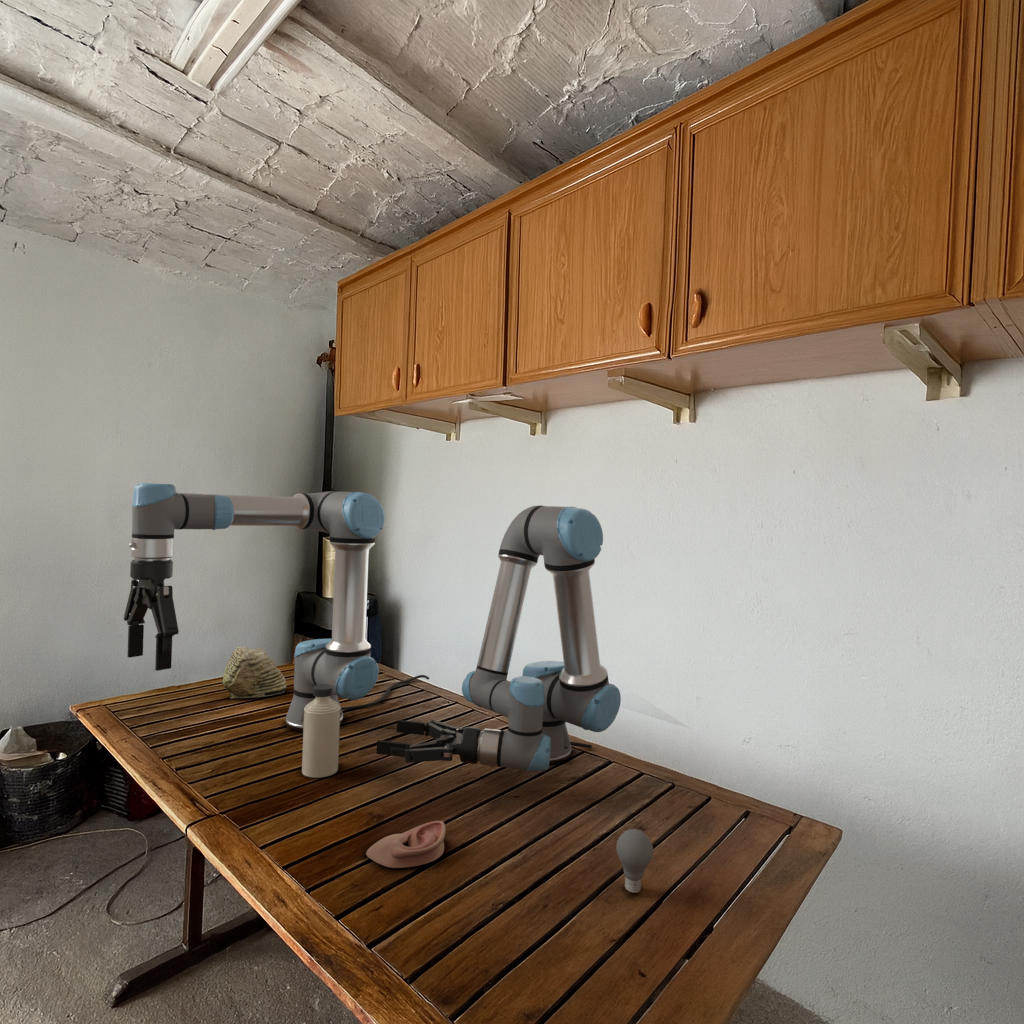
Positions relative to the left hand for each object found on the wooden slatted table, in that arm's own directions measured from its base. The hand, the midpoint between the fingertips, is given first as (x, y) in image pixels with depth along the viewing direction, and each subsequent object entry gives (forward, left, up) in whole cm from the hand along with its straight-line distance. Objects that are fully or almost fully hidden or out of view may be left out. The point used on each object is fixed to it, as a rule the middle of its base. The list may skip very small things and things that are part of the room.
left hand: (148, 662), depth 129 cm
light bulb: (-41, +90, -28) cm, 103 cm away
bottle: (-32, +14, -28) cm, 45 cm away
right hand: (-39, +29, -18) cm, 52 cm away
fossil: (-50, -47, -28) cm, 74 cm away
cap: (-32, +14, -9) cm, 36 cm away
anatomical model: (-23, +54, -28) cm, 65 cm away
